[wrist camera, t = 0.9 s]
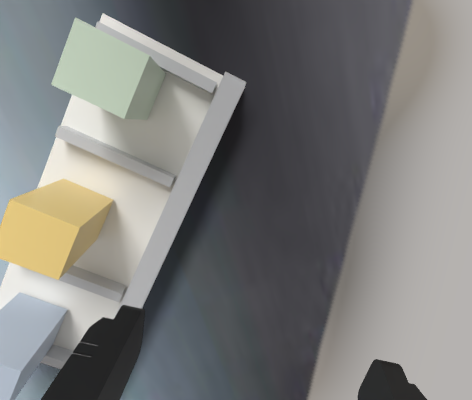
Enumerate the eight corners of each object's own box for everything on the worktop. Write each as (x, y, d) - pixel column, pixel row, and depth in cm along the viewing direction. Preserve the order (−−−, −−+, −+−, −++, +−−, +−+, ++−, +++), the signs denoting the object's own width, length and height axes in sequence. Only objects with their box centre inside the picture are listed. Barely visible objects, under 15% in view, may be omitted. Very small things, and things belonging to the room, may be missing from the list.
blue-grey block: (5, 328, 35) (-62, 396, 26) (19, 292, 34) (-45, 350, 26) (53, 344, 36) (3, 415, 27) (67, 309, 35) (21, 371, 26)
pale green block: (95, 95, 31) (51, 84, 22) (114, 48, 30) (75, 17, 21) (147, 119, 32) (124, 118, 23) (166, 74, 31) (149, 55, 22)
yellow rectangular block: (47, 219, 33) (-11, 254, 24) (63, 178, 32) (9, 199, 23) (97, 239, 34) (58, 280, 25) (113, 199, 33) (79, 227, 24)
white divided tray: (-13, 331, 36) (-39, 356, 33) (106, 16, 30) (91, 1, 27) (111, 373, 39) (100, 401, 35) (243, 88, 33) (248, 83, 29)
